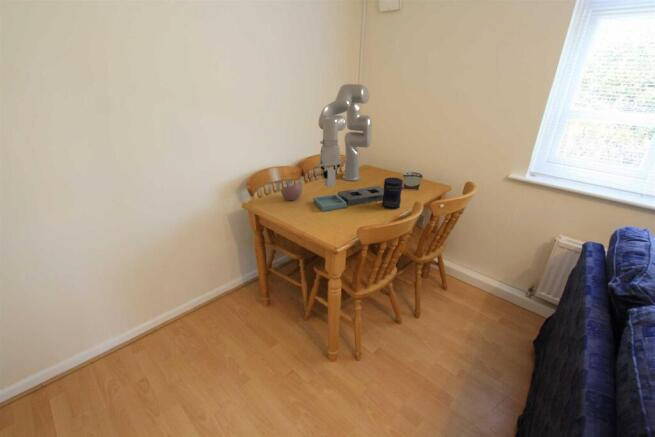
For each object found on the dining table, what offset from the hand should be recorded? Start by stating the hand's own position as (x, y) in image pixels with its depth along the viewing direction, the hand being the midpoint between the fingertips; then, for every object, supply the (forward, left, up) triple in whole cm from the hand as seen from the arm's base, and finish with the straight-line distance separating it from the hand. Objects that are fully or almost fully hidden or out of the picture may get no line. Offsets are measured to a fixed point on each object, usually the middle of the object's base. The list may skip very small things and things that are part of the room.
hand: (329, 177), depth 162 cm
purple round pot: (-16, -17, -17) cm, 29 cm away
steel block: (0, 0, -5) cm, 5 cm away
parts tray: (0, 0, -16) cm, 16 cm away
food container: (-6, +59, -17) cm, 62 cm away
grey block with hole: (-2, +23, -16) cm, 28 cm away
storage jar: (+14, +31, -17) cm, 38 cm away
